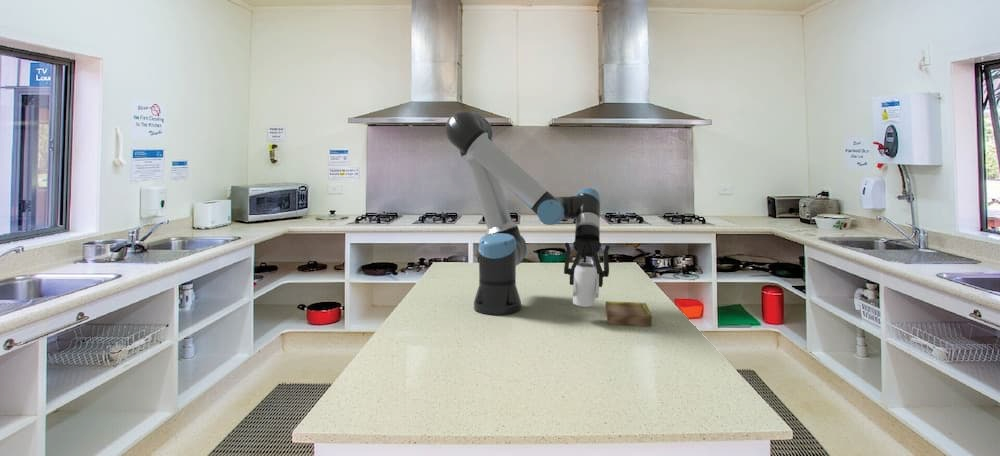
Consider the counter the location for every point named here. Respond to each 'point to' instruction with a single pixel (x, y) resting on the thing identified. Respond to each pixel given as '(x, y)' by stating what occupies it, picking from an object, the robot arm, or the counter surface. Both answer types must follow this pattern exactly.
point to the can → (585, 284)
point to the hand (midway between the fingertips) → (585, 294)
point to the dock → (628, 314)
